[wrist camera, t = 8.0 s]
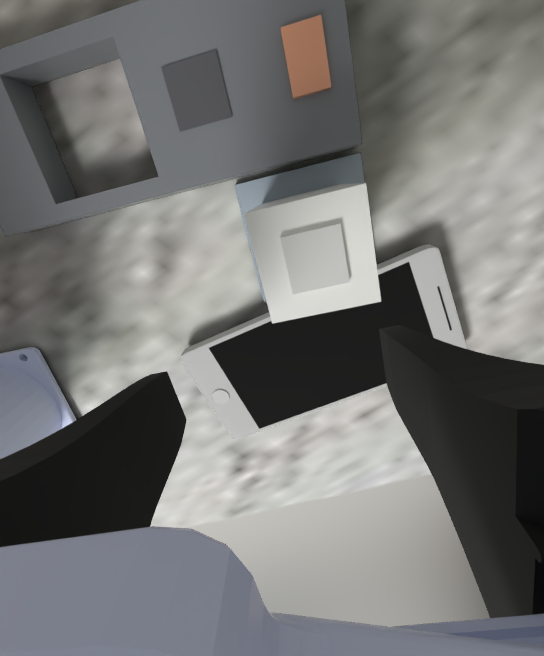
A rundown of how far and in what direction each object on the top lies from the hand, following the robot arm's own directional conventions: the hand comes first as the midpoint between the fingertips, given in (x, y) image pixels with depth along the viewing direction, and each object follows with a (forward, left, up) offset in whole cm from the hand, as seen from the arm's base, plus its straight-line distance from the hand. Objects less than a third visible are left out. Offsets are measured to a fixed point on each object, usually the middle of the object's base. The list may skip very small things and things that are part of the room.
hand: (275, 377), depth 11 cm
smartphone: (+1, -4, -9) cm, 10 cm away
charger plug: (+2, +3, -9) cm, 10 cm away
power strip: (-4, +10, -9) cm, 14 cm away
